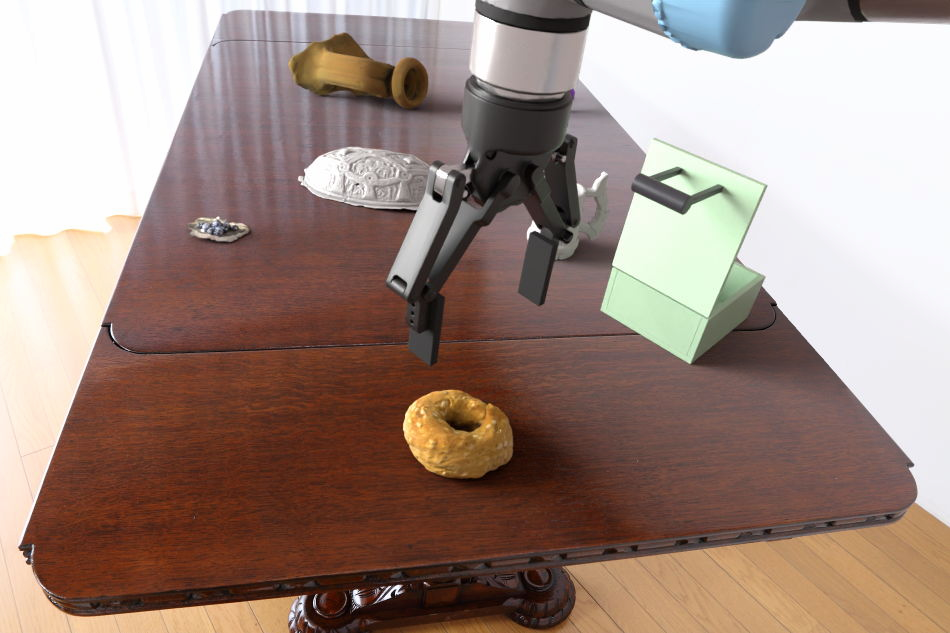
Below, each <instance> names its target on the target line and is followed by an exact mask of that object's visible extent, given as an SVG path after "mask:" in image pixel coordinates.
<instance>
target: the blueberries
mask: <svg viewBox="0 0 950 633" xmlns="http://www.w3.org/2000/svg"><path fill="white" fill-rule="evenodd" d="M227 220H228V219H221V218H220V216H217V217H216V218H215V217H211V216H204V217H198V218H197V219H195V220H194V221H192V222H189V223H187V225H188V227H187V229H188V230H190V232H189V233H188V235H190V237H196V238H199V239H210V240H211V241H215V242H219V243H220V242H227V243H231V242H233V241H236V240H238V239H239V238H241V237H243V236H244V235H247V234H249V232H250V229H251V228H249V227H248V225H245V224H244V223H242V222H234V221H232V222H229V221H227Z"/></svg>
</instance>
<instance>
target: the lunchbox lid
mask: <svg viewBox="0 0 950 633" xmlns="http://www.w3.org/2000/svg"><path fill="white" fill-rule="evenodd" d="M642 165H643V166H642V168H641V172H639V173H638V174H636V176H635V177H634V178H633V180H632V181H631V186H630V189H631V191H632V192H633V193H634V194H633V198H632V201H631V204H630V207H629V210H628V212H627V216H626V219H625V222H624V226H623V229H622V233H621V235H620V237H619V241H618V245H617V248H616V250H615V254H614V257H613V261H612V266H613V267H614V266H615V267H617V268H618V269H620V270H622V271H624V272H626V273H627V274H629V275H631V276H633V277H635V278H637V279H638V280H640V281H642V282H644V283H646V284H647V285H649V286H651V287H653V288H655V289H656V290H658V291H660V292H662V293H664V294H665V295H667V296H669V297H671V298H673V299H675V300H676V301H678V302H680V303H682V304H684V305H685V306H687V307H689V308H691V309H693V310H694V311H696V312H698V313H700V314H702V315H704V316H705V317H707V318H709V317H710V316H711V315H712V313H713V311H714V308H715V306H716V304H717V301H718V299H719V297H720V295H721V292H722V290H723V288H724V285H725V283H726V281H727V278H728V276H729V274H730V271H731V269H732V267H733V265H734V262H735V261H736V260H737V257H738V255H739V253H740V251H741V249H742V246H743V244H744V241H745V239H746V237H747V235H748V232H749V230H750V227H751V225H752V223H753V221H754V218H755V215H756V213H757V211H758V210H759V207H760V205H761V202H762V200H763V198H764V195H765V193H766V192H767V191H766V190H767V189H768V186H769V185H768V184H767V183H764V182H761V181H759V180H757V179H754V178H752V177H750V176H747V175H744V174H743V173H740V172H738V171H735V170H733V169H730V168H728V167H725V166H723V165H721V164H719V163H716V162H714V161H712V160H709V159H707V158H704V157H701V156H699V155H697V154H695V153H692V152H690V151H687V150H685V149H683V148H680V147H679V146H676V145H673V144H671V143H668V142H665V141H664V140H661V139H659V138H657V137H654V138H651V140H650V144H649V147H648V150H647V153H646V156H645V160H644V162H643V164H642Z"/></svg>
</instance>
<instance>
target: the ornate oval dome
mask: <svg viewBox="0 0 950 633" xmlns="http://www.w3.org/2000/svg"><path fill="white" fill-rule="evenodd" d="M430 166H431V165H429V164H428V163H427V162H425V161H423V160H422V159H420V158H418V157H416V155H414V154H410V153H404V152H400V151H399V152H398V151H392V150H386V149H379V148H378V149H377V148H368V147H362V146H347V147H343V148H338V149H335V150H332V151H329V152H326V153H323V154H322V155H319V156H318V157H317V158H315V159H314V161H313V162H312V163H311V164H310V165H309V166H308V167H306V168H304V169H303V170H304V173H305V174H304V175H305V176H303V175H299V176H298V179H297V180H298V182H300V185H301V186H304V187H306V188H307V190H309V192H311V193H312V194H313V195H315V196H317V197H319V198H322V199H324V200H326V199H327V200H332V201H335V202H339V203H344V204H348V205H352V206H356V207H364V208H370V209H380V210H381V209H382V210H383V209H384V210H385V209H386V210H387V209H389V210H402V209H405V210H411V211H417V210H418V207H419V205H420V203H421V201H422V198H423V196H424V194H425V190H426V185H427V179H428V174H429V169H430Z"/></svg>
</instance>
